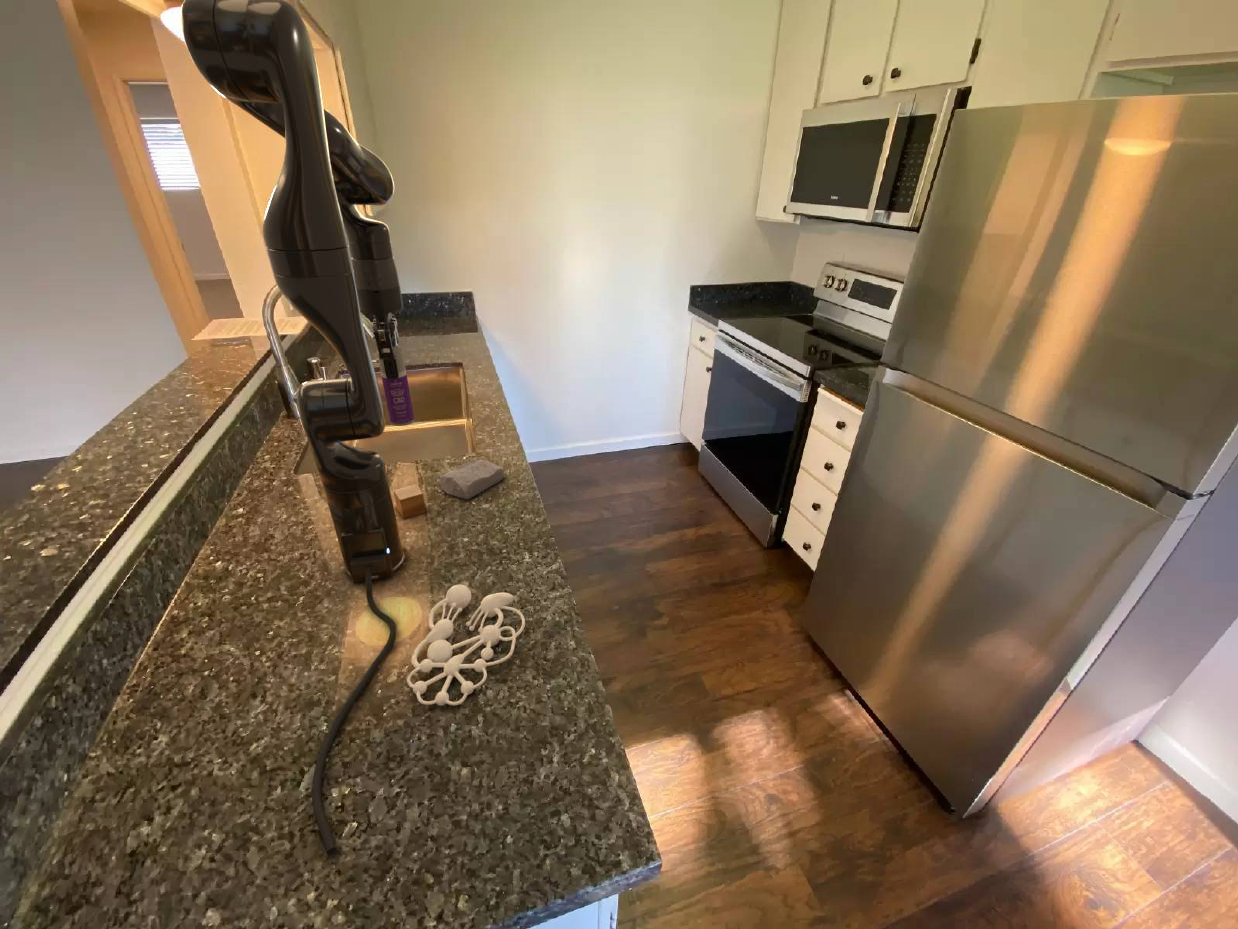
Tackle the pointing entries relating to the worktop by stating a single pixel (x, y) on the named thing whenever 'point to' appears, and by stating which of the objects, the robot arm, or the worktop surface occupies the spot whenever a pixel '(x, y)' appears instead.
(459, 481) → the stone block
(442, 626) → the tangled rod sculpture
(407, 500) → the oak cube
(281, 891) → the worktop surface
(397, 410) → the container
